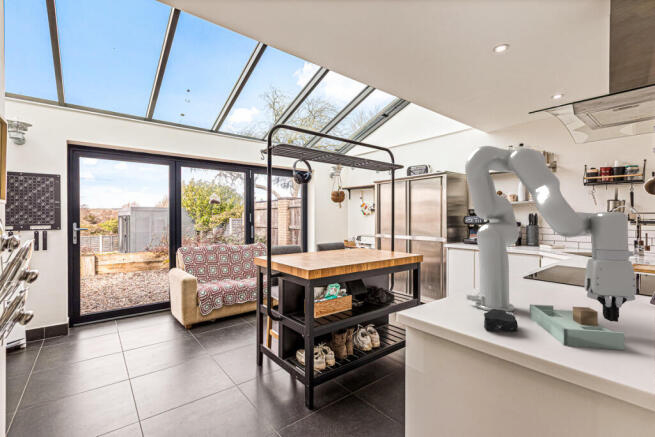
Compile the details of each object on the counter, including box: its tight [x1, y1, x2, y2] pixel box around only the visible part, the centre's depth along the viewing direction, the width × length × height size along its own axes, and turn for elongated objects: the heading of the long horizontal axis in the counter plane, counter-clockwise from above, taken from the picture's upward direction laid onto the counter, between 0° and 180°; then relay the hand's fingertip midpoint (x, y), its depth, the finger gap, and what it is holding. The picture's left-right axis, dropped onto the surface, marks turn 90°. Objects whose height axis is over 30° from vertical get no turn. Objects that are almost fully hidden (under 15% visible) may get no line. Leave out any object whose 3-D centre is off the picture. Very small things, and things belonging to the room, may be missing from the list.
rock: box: [483, 309, 519, 333], centre depth 89 cm, size 10×9×6 cm
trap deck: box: [529, 304, 626, 351], centre depth 86 cm, size 13×22×4 cm, turn 165°
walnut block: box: [572, 306, 599, 326], centre depth 85 cm, size 4×4×4 cm
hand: (610, 319), depth 83 cm, fingers closed
